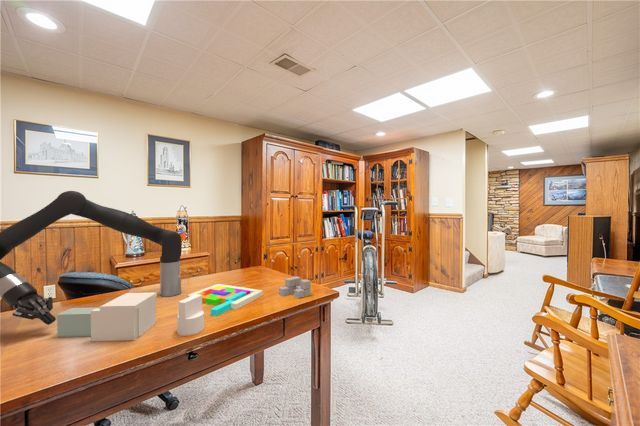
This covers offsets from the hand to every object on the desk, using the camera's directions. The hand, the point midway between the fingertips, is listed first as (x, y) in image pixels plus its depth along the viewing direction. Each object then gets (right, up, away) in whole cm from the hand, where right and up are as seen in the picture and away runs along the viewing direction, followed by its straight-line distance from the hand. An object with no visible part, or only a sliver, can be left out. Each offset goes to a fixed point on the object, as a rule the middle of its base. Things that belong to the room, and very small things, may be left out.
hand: (52, 322), depth 96 cm
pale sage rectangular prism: (+10, -4, +1) cm, 11 cm away
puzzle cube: (+84, -4, +44) cm, 94 cm away
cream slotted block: (+25, -4, +2) cm, 25 cm away
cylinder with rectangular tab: (+48, -5, +4) cm, 49 cm away
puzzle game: (+47, -4, +35) cm, 59 cm away
